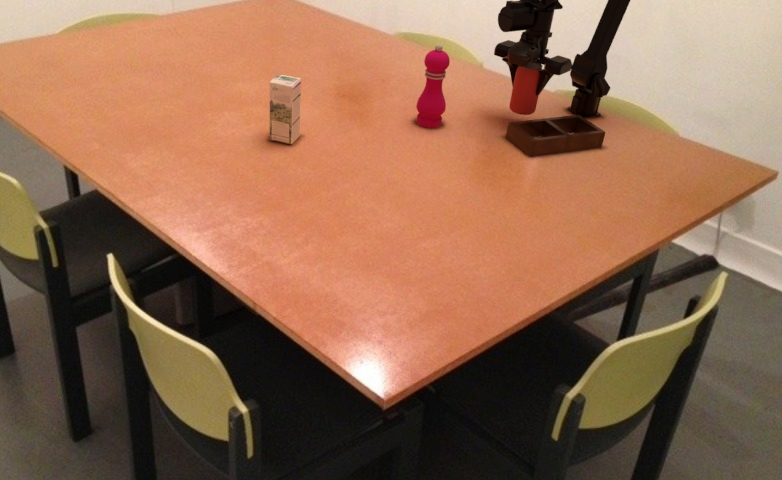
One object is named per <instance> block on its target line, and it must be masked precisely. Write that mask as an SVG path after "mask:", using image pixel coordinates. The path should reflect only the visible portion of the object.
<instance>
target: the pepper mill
mask: <svg viewBox="0 0 782 480" xmlns="http://www.w3.org/2000/svg"><path fill="white" fill-rule="evenodd" d="M450 60H451V59H450V56H449V54H448V53H447V52H446V51H444V50H443V45H442V44H441V43H437V44H435V47H434V49H432V50H430V51H429V52H427V53H426V55H425V57H424V66H425V68H426V69H425V70H424V72H425V73H424V76H425V77H426V80H425V81H426V82H425V86H424V88H423V90H422V92H421V94H420V95H419V97H418V98H417V101H416V110H417V112H418V113H417V115H416V124H418V125H419V126H420V127H422V128H427V129H435V128H439V127H440V126H441V125H442V122H443V117H442V115H443V114H444V113H445V112H446V108H447V107H446V106H447V105H446V99H445V98H446V97H445V96H444V92H443V81H444V79H445V78H446V76H447V75H446V74H447V71H446V70H447V69H448V68H449V66H450V63H451V61H450Z"/></svg>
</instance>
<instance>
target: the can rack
mask: <svg viewBox="0 0 782 480" xmlns="http://www.w3.org/2000/svg"><path fill="white" fill-rule="evenodd" d="M606 133H607V132H606V131H605V130H603V129H601V128H600V127H598V126H597V125H596V124H594V123H593V122H591V121H590V120H588V119H586V118H583V117H582V116H580V115H575V114H572V115H563V116H554V117H553V116H552V117H546V118H545V117H544V118H537V119H528V120H518V121H508V122H507V128H506V131H505V139H507V140H508V141H509V142H510V143H511V144H513V145H514V146H515V147H517V148H518V149H519V150H520V151H522V152H523V153H524V154H525V155H527V156H528V157H536V156H544V155H552V154H559V153H560V154H561V153H567V152H576V151H583V150H590V149H599V148H602V147H603V144H604V141H605V136H606ZM540 136H542V137H540ZM535 137H536V138H535Z"/></svg>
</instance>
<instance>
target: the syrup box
mask: <svg viewBox="0 0 782 480" xmlns="http://www.w3.org/2000/svg"><path fill="white" fill-rule="evenodd" d="M301 101H302V78H301V77H296V76H290V75H286V74H280V73H279V74H277V75H275V76H274V77H273V78H271V80H270V81H269V141H272V142H277V143H281V144H282V143H283V144H288V145H292V144H293V143H295V142H296V141H297V140H298V138H300V136H301Z"/></svg>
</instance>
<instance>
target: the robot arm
mask: <svg viewBox="0 0 782 480" xmlns="http://www.w3.org/2000/svg"><path fill="white" fill-rule="evenodd" d="M630 2H631V0H607V2H606V4H605V7H604V9H603V11H602V14H601V16H600V19H599V21H598V23H597V25H596V28H595V31H594V33H593V36H592V37H591V41H590V42H589V45H588V47H587V49H586V50H584V51H583V52H582V53H581V54H579V53H576V55H575V56H574V60H573V62H572V60H571V58H569V57H565V56H561V55H555V56H553V57H549V56H546V55H548V54H549V51H550V49H549V48H548V43H549V40H550V39H549V38H552V37H553V32H551V28H552V23H553V19H554V14H555V10H563V7H564V6H563V5H562V4H561V2H560V1H559V0H506V1H505V6H503V7H502V8H501V9H500V11H499V12H498V14H497V24H498V28H499V29H500V31H501V32H502V33H511V32H521V31H522V32H521V34H520V38H519V40H518V41H513V40H510V39H507V40H504V41H502V42H499V43H497V44H496V45H495V47H494V52H493V55H494V56H496V57H499V58H501V60H502V62H505V63H506V65H507V66H508V70H509V74H510V80H511V85H512V87H513V84H514V78H515V73H516V70H517V68H518V66H520V67H524V66H526V65H527V64H528V63H529V62H531V63H535V62H536V63H540V64H542V66H543V68H542V70H540V71H539V74H540V78H539V82H538V86H537V90H536V95H537V96H538V95H539V96H540V94H541V93H542V91H543V90H544V89H545V87H546V86H547V85H548V83H549V81H550V80H551V79H552V78H553V76H561V75H564V74H566V73H568V72H569V76H570V78H571V86H572V87H574V88H576V89H575V92H574V95H573V96H572V99H571V104H570V106H567V107H566V109H567V111H569V112H570V113H572V114H573V115H580V116H582V117H583V118H585V119H586V118H596V117H597V118H598V117H601V116H602V115H601V113H600V112H599V107H600V103H601V101H602V98H603V97H604V96H608V94H609V92H610V90H611V86H610V85H609V83H608V81H607V80H606V74H607V71H608V59H607V57H608V53H609V51H610V49H611V47H612V44H613V41H614V39H615V37H616V34H617V33H618V31H619V27H620V25H621V23H622V21H623V19H624V17H625V14H626V12H627V9H628V8H629V4H630ZM539 96H538V97H539Z"/></svg>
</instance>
